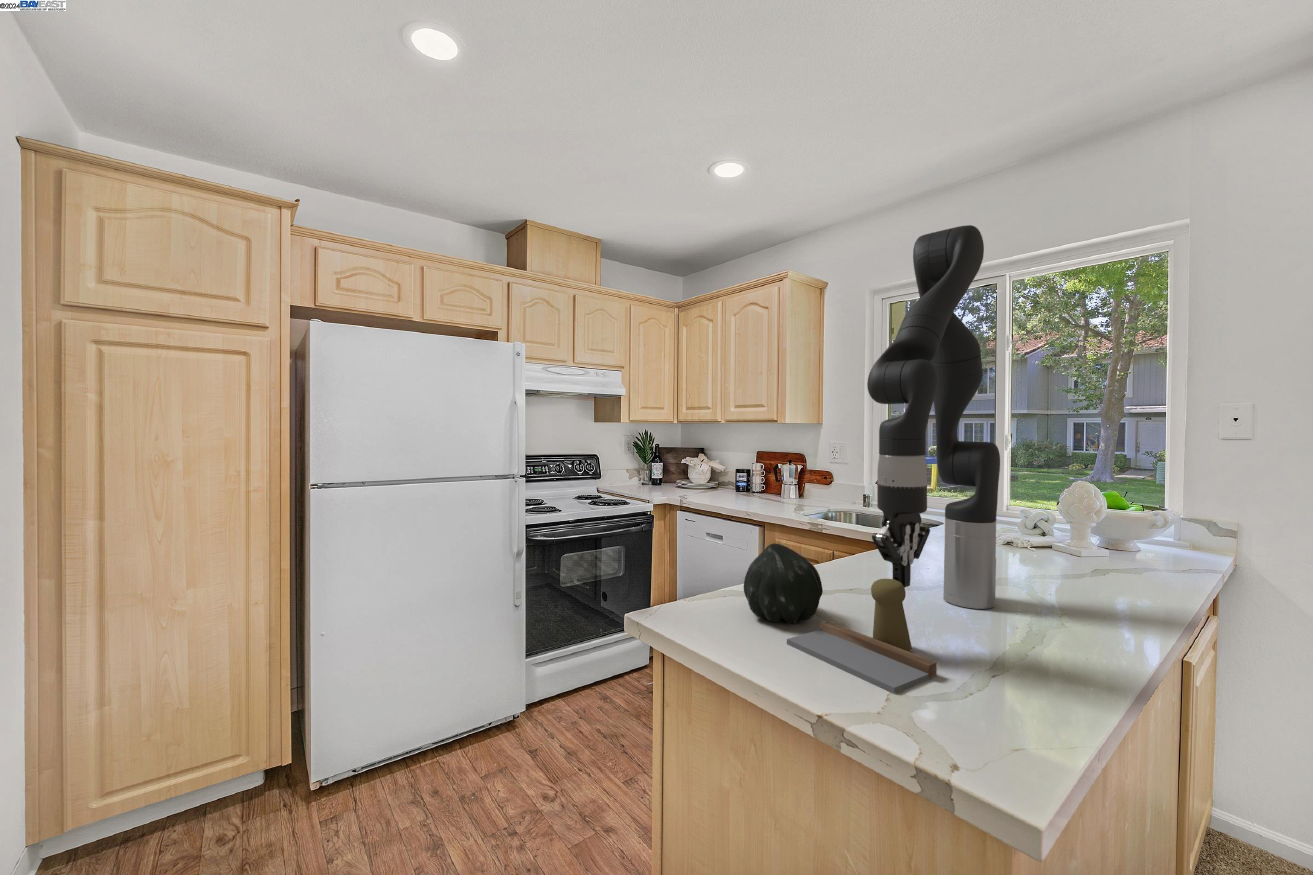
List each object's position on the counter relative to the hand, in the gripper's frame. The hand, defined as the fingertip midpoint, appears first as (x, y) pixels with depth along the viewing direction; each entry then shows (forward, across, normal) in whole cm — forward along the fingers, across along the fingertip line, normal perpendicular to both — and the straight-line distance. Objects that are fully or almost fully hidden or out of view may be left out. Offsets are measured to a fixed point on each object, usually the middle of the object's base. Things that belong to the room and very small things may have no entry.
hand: (901, 585), depth 92 cm
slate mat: (+10, -12, 0) cm, 16 cm away
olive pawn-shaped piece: (+10, -3, 0) cm, 10 cm away
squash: (+10, -7, +20) cm, 24 cm away
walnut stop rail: (+10, -7, 0) cm, 12 cm away
